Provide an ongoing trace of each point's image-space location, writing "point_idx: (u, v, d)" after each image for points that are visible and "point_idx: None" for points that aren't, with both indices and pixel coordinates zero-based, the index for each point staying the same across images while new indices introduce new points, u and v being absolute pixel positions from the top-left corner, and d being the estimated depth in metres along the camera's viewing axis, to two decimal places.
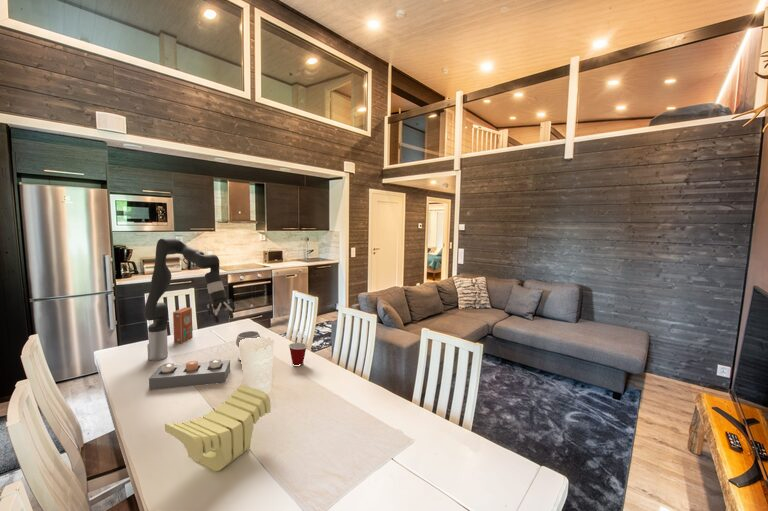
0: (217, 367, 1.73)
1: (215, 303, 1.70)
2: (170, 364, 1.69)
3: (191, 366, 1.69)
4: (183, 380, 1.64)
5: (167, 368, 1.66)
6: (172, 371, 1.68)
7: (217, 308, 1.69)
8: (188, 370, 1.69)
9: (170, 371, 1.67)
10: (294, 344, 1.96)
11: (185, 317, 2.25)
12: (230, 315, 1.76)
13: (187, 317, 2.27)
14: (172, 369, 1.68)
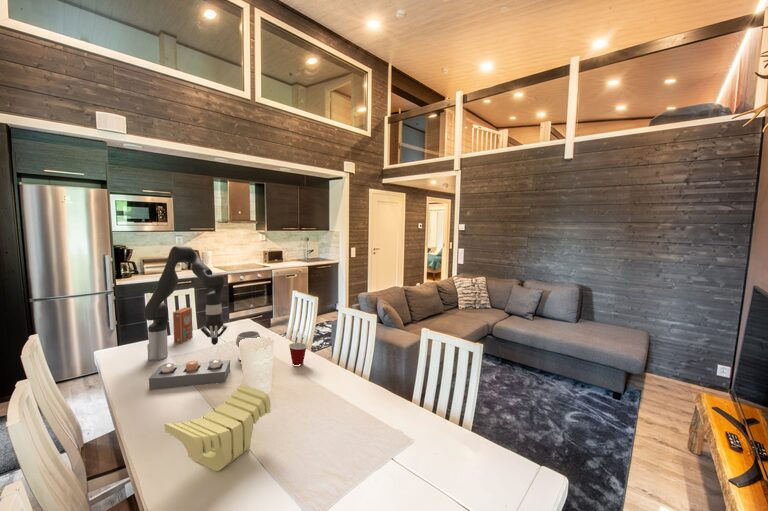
0: (217, 367, 1.73)
1: (206, 325, 1.71)
2: (170, 364, 1.69)
3: (191, 366, 1.69)
4: (183, 380, 1.64)
5: (167, 368, 1.66)
6: (172, 371, 1.68)
7: (210, 332, 1.71)
8: (188, 370, 1.69)
9: (170, 371, 1.67)
10: (294, 344, 1.96)
11: (185, 317, 2.25)
12: None
13: (187, 317, 2.27)
14: (172, 369, 1.68)
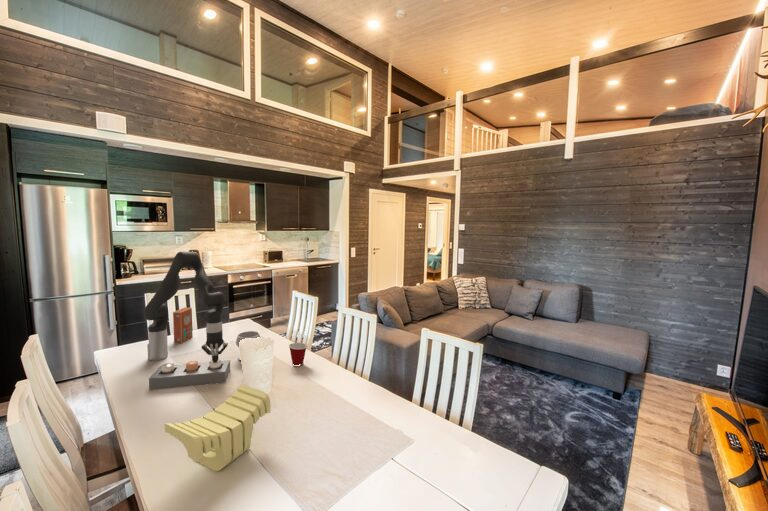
0: (217, 367, 1.73)
1: (207, 343, 1.72)
2: (170, 364, 1.69)
3: (191, 366, 1.69)
4: (183, 380, 1.64)
5: (167, 368, 1.66)
6: (172, 371, 1.68)
7: None
8: (188, 370, 1.69)
9: (170, 371, 1.67)
10: (294, 344, 1.96)
11: (185, 317, 2.25)
12: None
13: (187, 317, 2.27)
14: (172, 369, 1.68)
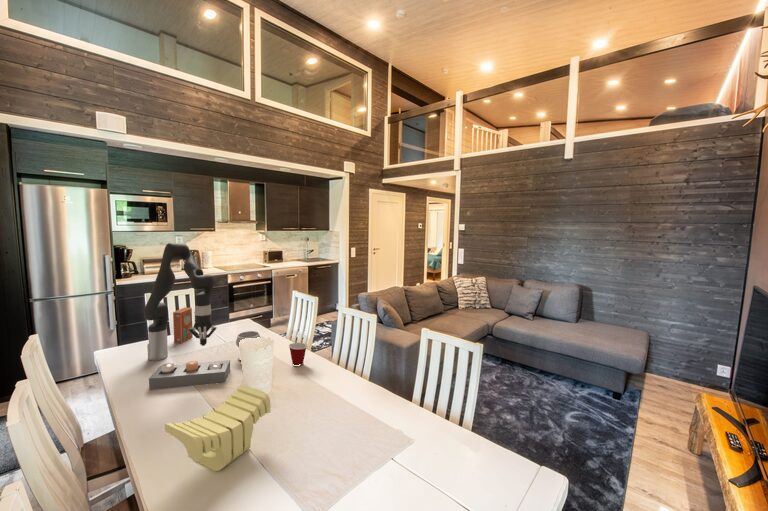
0: None
1: (195, 326, 1.70)
2: (170, 364, 1.69)
3: (191, 366, 1.69)
4: (183, 380, 1.64)
5: (167, 368, 1.66)
6: (172, 371, 1.68)
7: None
8: (188, 370, 1.69)
9: (170, 371, 1.67)
10: (294, 344, 1.96)
11: (185, 317, 2.25)
12: None
13: (187, 317, 2.27)
14: (172, 369, 1.68)
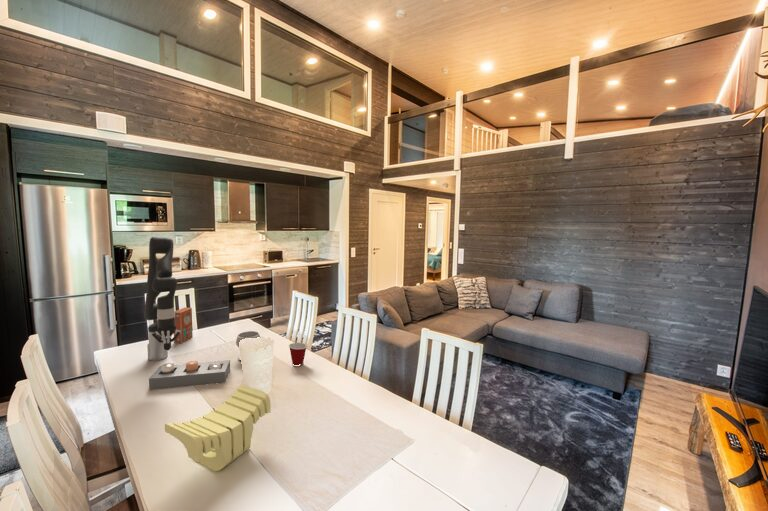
0: None
1: (158, 330, 1.65)
2: (170, 364, 1.69)
3: (191, 366, 1.69)
4: (183, 380, 1.64)
5: (167, 368, 1.66)
6: (172, 371, 1.68)
7: (162, 337, 1.65)
8: (188, 370, 1.69)
9: (170, 371, 1.67)
10: (294, 344, 1.96)
11: (185, 317, 2.25)
12: None
13: (187, 317, 2.27)
14: (172, 369, 1.68)
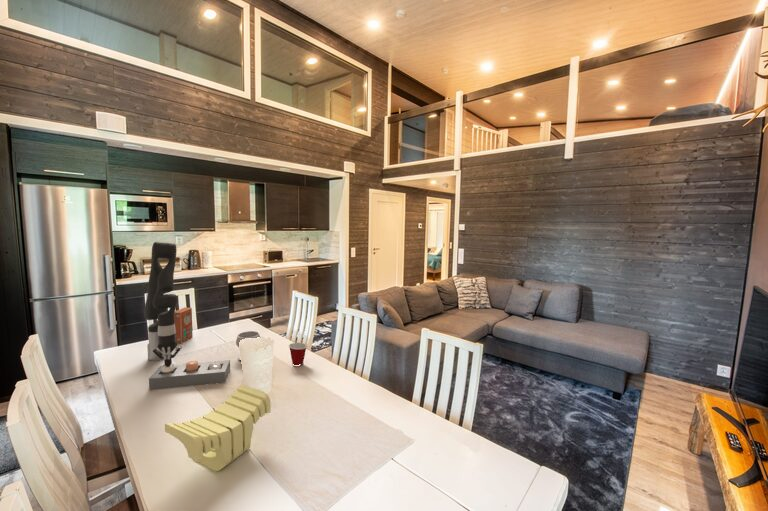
0: None
1: (158, 346, 1.65)
2: (170, 365, 1.69)
3: (191, 366, 1.69)
4: (183, 380, 1.64)
5: (167, 369, 1.66)
6: (172, 372, 1.68)
7: (162, 353, 1.66)
8: (188, 370, 1.69)
9: (170, 372, 1.67)
10: (294, 344, 1.96)
11: (185, 317, 2.25)
12: None
13: (187, 317, 2.27)
14: (172, 370, 1.68)
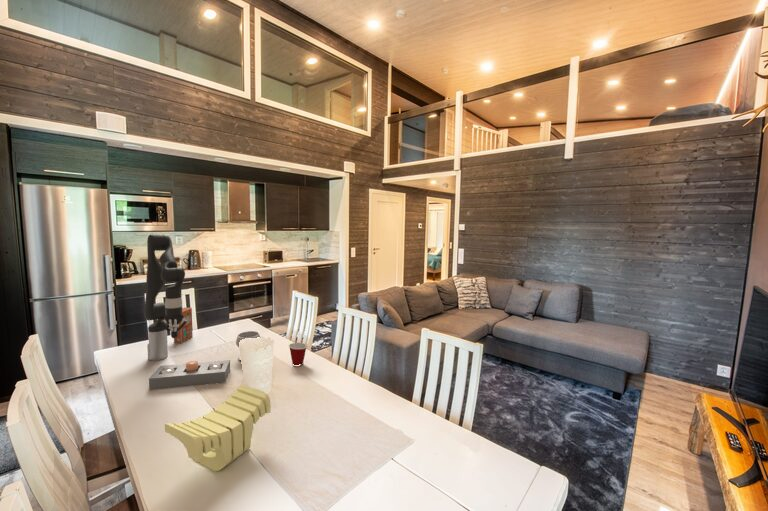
0: None
1: (165, 318, 1.70)
2: (170, 369, 1.69)
3: (191, 366, 1.69)
4: (183, 380, 1.64)
5: (167, 373, 1.66)
6: None
7: (169, 325, 1.70)
8: (188, 370, 1.69)
9: None
10: (294, 344, 1.96)
11: (185, 317, 2.25)
12: None
13: (187, 317, 2.27)
14: None
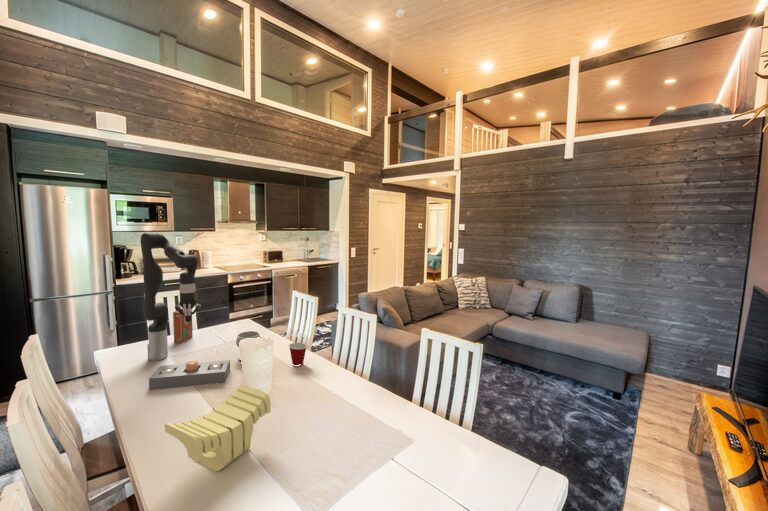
0: None
1: (180, 303, 1.80)
2: (170, 369, 1.69)
3: (191, 366, 1.69)
4: (183, 380, 1.64)
5: (167, 373, 1.66)
6: None
7: None
8: (188, 370, 1.69)
9: None
10: (294, 344, 1.96)
11: None
12: None
13: None
14: None
